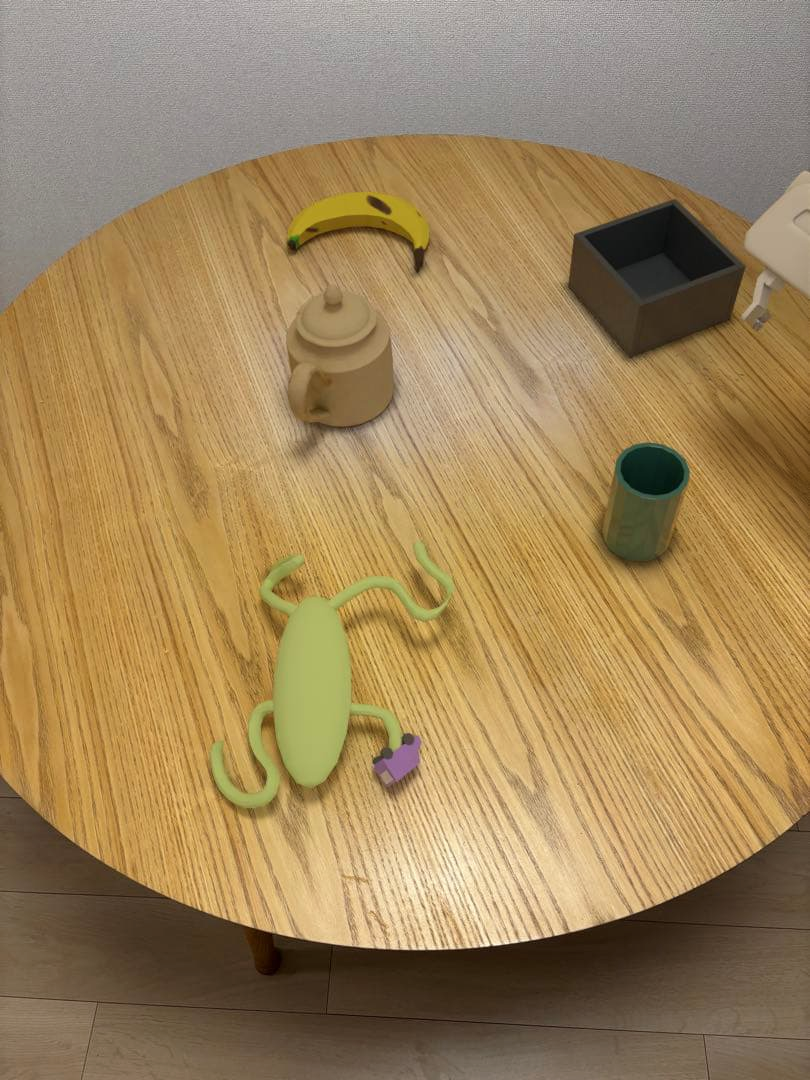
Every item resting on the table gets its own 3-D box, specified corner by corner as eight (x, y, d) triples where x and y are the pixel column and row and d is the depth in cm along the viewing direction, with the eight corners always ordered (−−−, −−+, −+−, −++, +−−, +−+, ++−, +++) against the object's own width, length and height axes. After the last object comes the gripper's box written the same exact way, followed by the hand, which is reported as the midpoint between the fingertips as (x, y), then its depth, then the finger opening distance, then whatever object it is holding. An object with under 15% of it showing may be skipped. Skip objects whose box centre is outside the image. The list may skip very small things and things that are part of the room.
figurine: (462, 571, 97) (462, 538, 92) (414, 840, 82) (411, 817, 77) (278, 548, 99) (269, 514, 95) (199, 804, 84) (184, 779, 80)
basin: (664, 251, 123) (675, 198, 116) (730, 318, 115) (746, 266, 109) (567, 286, 120) (574, 233, 113) (629, 357, 112) (639, 306, 106)
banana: (273, 201, 125) (305, 290, 118) (404, 163, 126) (443, 249, 120) (279, 227, 129) (310, 314, 122) (406, 190, 130) (444, 275, 124)
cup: (658, 502, 101) (676, 437, 92) (679, 556, 97) (699, 493, 89) (594, 513, 100) (606, 448, 92) (612, 566, 96) (627, 504, 88)
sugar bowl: (401, 450, 106) (394, 347, 94) (297, 460, 106) (276, 357, 94) (390, 351, 115) (383, 244, 102) (295, 360, 114) (275, 254, 102)
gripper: (801, 143, 84) (690, 280, 89) (1006, 275, 73) (866, 421, 79) (824, 171, 89) (717, 299, 94) (1019, 298, 78) (887, 434, 84)
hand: (787, 356), depth 86 cm, fingers open, 8 cm apart
